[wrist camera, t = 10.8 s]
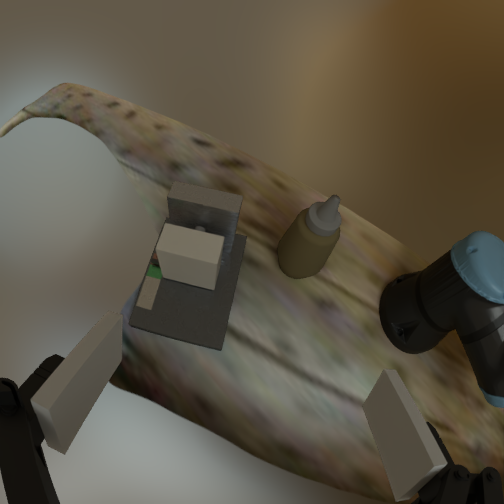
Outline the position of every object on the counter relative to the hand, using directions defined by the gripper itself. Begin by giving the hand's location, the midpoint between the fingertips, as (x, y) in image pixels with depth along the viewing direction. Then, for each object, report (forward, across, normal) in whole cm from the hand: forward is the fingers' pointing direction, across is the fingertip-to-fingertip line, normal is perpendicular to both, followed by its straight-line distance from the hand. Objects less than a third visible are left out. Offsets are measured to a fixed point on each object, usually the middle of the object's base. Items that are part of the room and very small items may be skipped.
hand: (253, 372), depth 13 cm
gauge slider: (+32, -9, -7) cm, 34 cm away
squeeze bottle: (+37, +8, -5) cm, 38 cm away
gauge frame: (+32, -8, -10) cm, 34 cm away
